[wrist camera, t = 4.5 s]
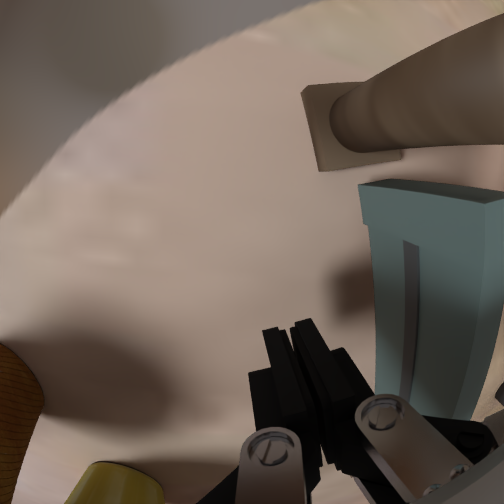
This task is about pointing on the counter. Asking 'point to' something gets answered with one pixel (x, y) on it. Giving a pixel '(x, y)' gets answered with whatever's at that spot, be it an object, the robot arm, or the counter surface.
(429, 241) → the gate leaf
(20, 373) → the disposable coffee cup
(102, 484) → the plant pot
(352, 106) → the gate posts
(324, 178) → the counter surface
